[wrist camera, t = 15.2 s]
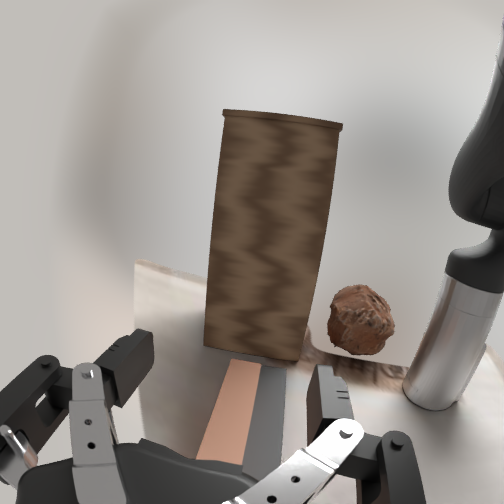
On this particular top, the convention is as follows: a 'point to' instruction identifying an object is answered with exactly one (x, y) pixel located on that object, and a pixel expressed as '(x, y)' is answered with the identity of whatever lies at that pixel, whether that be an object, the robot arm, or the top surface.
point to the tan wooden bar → (231, 414)
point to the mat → (266, 424)
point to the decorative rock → (359, 321)
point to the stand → (268, 230)
